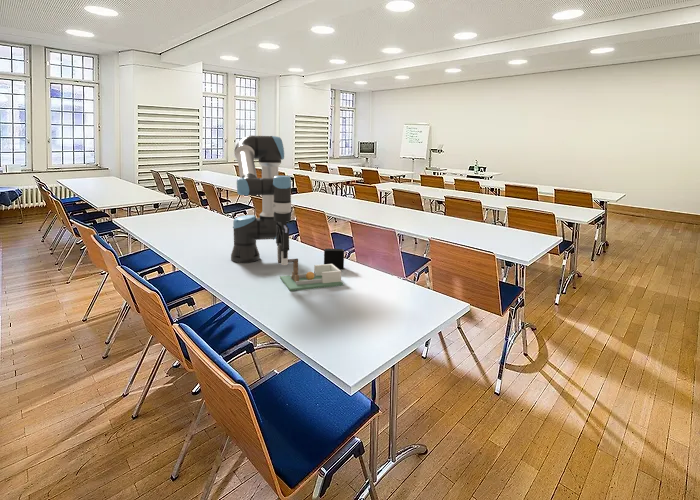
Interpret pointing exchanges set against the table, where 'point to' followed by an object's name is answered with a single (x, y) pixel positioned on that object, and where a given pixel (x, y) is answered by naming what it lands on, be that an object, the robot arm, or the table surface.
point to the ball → (310, 275)
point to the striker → (295, 262)
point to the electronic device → (334, 257)
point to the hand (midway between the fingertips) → (282, 262)
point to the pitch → (315, 278)
